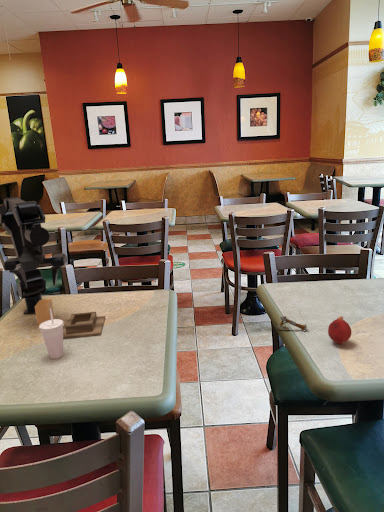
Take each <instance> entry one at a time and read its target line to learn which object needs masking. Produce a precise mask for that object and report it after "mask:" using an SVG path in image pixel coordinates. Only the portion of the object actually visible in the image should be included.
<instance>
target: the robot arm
mask: <svg viewBox="0 0 384 512" xmlns="http://www.w3.org/2000/svg"><path fill="white" fill-rule="evenodd" d="M45 223H46V215H45V213H44V211H43V208H42V207H41V205H40V204H39V203H38V202H37V201H36V200H32V201H31V200H30V201H25V200H23V199H21V197H19V196H12V197H6V198H4V199H3V203H2V204H1V205H0V224H1V225H2V228H3V230H4V231H5V232H7V233H8V234H9V235H10V238H11V242H12V245H13V249H14V252H15V255H16V257H10V258H8V259H6V260H5V261H4V262H3V265H2V266H3V270H4V271H5V272H7V271H8V272H9V274H14V275H15V276H16V277H17V278H18V282H17V294H18V296H19V297H20V298H21V299H22V300H23V299H24V302H25V308H26V309H25V310H24V312H23V314H24V315H28V314H36V312H35V306H36V304H37V303H38V302H39V300H43V298H42V294H46V293H47V285H46V283H47V280H46V279H45V278H44V276H42V274H41V271H40V269H39V268H38V267H39V265H45V264H46V265H47V264H48V265H49V264H50V265H51V267H50V270H51V273H52V275H51V276H52V285H53V287H54V286H56V284H57V279H58V276H59V275H58V274H59V271H60V269H62V267H63V266H65V264H66V263H67V262H68V256H67V255H66V253H55V254H53V255H52V256H51V257H46V253H45V251H44V246H45V245H47V244H48V242H49V241H50V233H49V231H48V230H47V229H46V228H45V227H43V226H42V224H45Z"/></svg>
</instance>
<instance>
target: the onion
mask: <svg viewBox="0 0 384 512" xmlns="http://www.w3.org/2000/svg"><path fill="white" fill-rule="evenodd" d="M327 333H328V337H329V339H331V340H332V342H334V343H336V344H337V345H342V344H344V343H346V342H347V341H349V339H350V338H351V337H352V328H351V326H350V324H349V323H348V322H347V321H346V320H344V317H343V316H341V315H340V316H338V317H337V318H336V319H333V321H331V322H330V323H329V325H328V328H327Z"/></svg>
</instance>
